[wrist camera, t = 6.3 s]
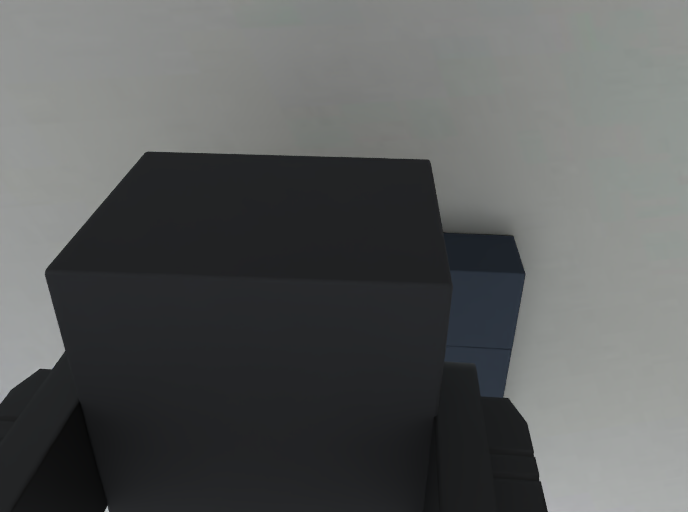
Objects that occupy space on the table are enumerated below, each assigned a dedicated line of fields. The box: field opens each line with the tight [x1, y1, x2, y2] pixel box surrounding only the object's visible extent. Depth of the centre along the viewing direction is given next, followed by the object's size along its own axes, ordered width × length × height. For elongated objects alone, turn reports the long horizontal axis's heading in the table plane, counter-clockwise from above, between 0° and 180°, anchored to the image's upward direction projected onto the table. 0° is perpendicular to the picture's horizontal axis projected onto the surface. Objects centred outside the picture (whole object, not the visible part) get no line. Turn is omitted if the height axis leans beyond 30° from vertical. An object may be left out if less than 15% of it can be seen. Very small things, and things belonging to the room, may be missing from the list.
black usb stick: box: [45, 152, 453, 512], centre depth 12 cm, size 9×5×4 cm, turn 0°
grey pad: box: [443, 233, 525, 398], centre depth 24 cm, size 12×12×2 cm
